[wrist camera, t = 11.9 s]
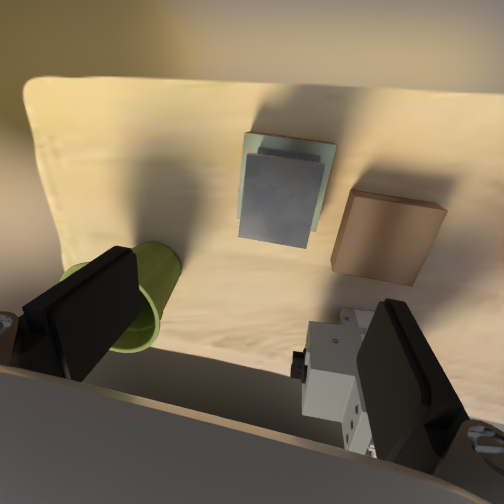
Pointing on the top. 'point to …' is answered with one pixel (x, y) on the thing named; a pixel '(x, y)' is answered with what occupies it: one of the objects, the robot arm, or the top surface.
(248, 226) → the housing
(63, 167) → the top surface
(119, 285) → the robot arm
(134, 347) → the plant pot
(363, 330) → the circuit breaker
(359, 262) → the stand
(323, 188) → the stand
